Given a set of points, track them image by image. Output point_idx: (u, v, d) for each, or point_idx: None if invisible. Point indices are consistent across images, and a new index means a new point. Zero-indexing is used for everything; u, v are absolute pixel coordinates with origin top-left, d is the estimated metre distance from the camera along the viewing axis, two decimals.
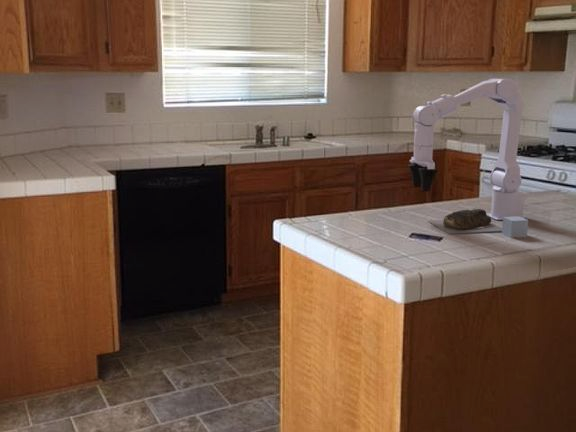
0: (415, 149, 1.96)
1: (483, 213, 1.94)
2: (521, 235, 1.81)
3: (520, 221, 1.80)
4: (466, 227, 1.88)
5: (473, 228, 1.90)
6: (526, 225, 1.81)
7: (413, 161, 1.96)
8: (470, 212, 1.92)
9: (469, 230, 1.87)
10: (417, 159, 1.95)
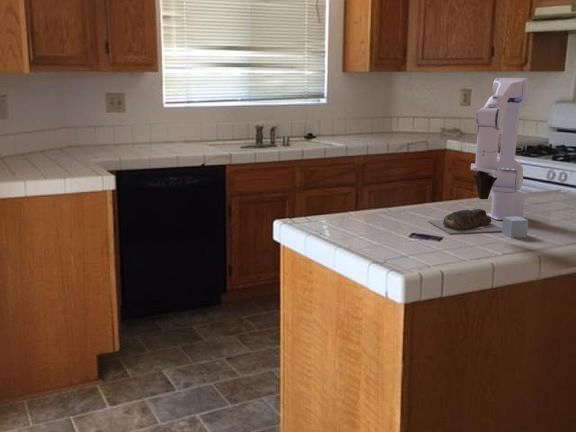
0: (478, 155, 1.79)
1: (483, 213, 1.94)
2: (521, 235, 1.81)
3: (520, 221, 1.80)
4: (466, 227, 1.88)
5: (473, 228, 1.90)
6: (526, 225, 1.81)
7: (476, 168, 1.79)
8: (470, 212, 1.92)
9: (469, 230, 1.87)
10: (480, 166, 1.78)
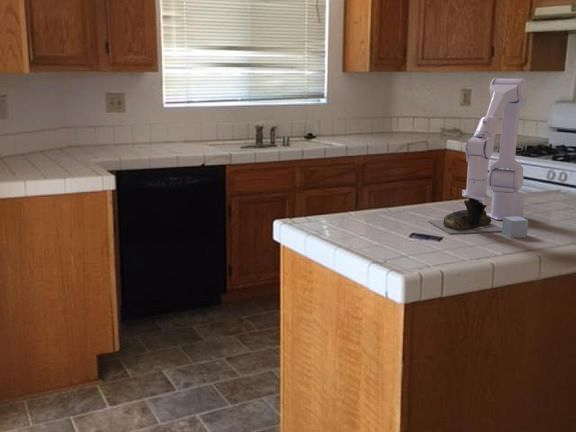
0: (469, 183, 1.85)
1: (483, 213, 1.94)
2: (521, 235, 1.81)
3: (520, 221, 1.80)
4: (466, 227, 1.88)
5: (473, 228, 1.90)
6: (526, 225, 1.81)
7: (466, 196, 1.85)
8: None
9: (469, 230, 1.87)
10: (471, 194, 1.85)
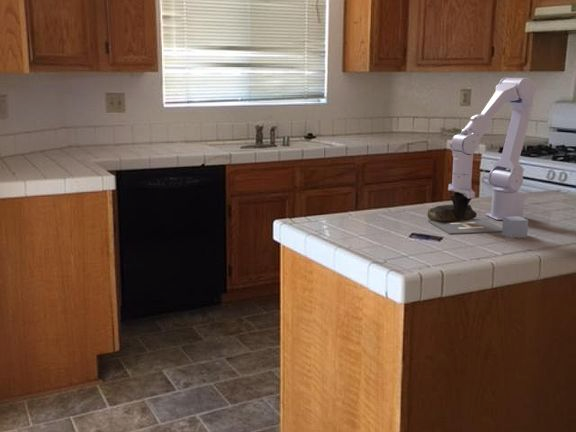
0: (454, 177, 1.95)
1: (467, 207, 2.03)
2: (521, 235, 1.81)
3: (520, 221, 1.80)
4: (447, 219, 1.98)
5: (473, 228, 1.90)
6: (526, 225, 1.81)
7: (452, 189, 1.95)
8: None
9: (469, 230, 1.87)
10: (456, 187, 1.94)
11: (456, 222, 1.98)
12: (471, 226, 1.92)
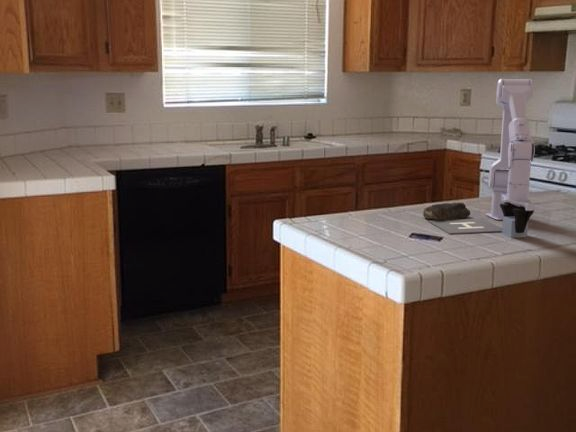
0: (510, 188, 1.80)
1: (462, 206, 2.05)
2: (521, 235, 1.81)
3: None
4: (444, 218, 2.00)
5: (473, 228, 1.90)
6: (526, 225, 1.81)
7: (507, 201, 1.80)
8: (449, 205, 2.04)
9: (469, 230, 1.87)
10: (512, 199, 1.79)
11: (456, 222, 1.98)
12: (471, 226, 1.92)
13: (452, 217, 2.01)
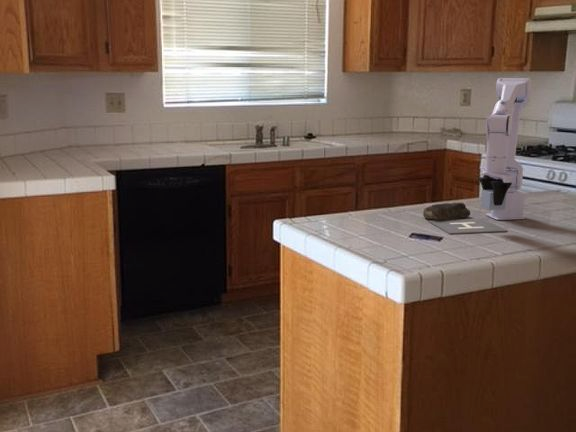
0: (488, 161, 1.83)
1: (462, 206, 2.05)
2: (500, 207, 1.85)
3: None
4: (444, 218, 2.00)
5: (473, 228, 1.90)
6: (504, 197, 1.84)
7: (486, 174, 1.83)
8: (449, 205, 2.04)
9: (469, 230, 1.87)
10: (490, 171, 1.83)
11: (456, 222, 1.98)
12: (471, 226, 1.92)
13: (452, 217, 2.01)
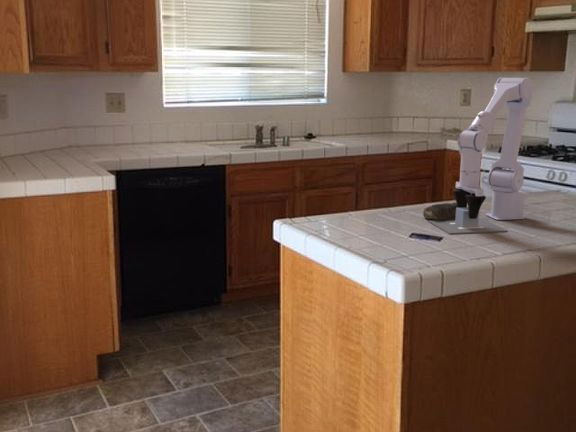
0: (462, 175, 1.89)
1: None
2: (472, 225, 1.91)
3: None
4: (444, 218, 2.00)
5: (473, 228, 1.90)
6: None
7: (459, 187, 1.90)
8: (449, 205, 2.04)
9: (469, 230, 1.87)
10: (464, 185, 1.89)
11: None
12: None
13: (452, 217, 2.01)
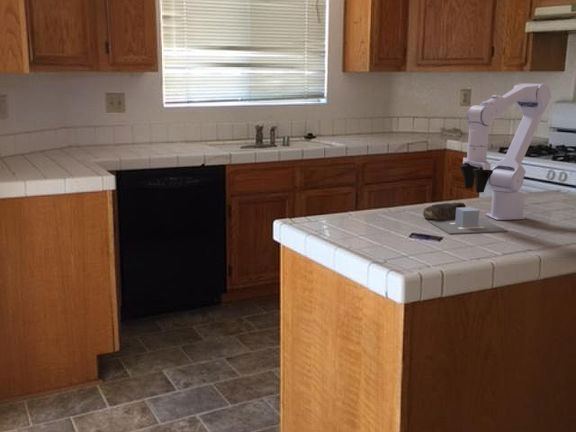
0: (469, 149, 1.92)
1: (462, 206, 2.05)
2: (472, 225, 1.91)
3: (471, 211, 1.90)
4: (444, 218, 2.00)
5: (473, 228, 1.90)
6: (477, 215, 1.91)
7: (467, 161, 1.92)
8: (449, 205, 2.04)
9: (469, 230, 1.87)
10: (471, 159, 1.92)
11: None
12: None
13: (452, 217, 2.01)
